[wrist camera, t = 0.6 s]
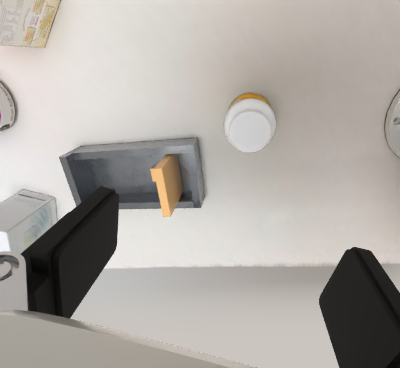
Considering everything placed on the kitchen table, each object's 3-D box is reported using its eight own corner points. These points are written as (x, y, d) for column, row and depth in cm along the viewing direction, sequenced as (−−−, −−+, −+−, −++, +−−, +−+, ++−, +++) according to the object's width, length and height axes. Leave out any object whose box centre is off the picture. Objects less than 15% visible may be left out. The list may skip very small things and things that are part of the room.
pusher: (176, 149, 36) (161, 168, 29) (183, 191, 38) (170, 216, 32) (149, 151, 36) (129, 170, 30) (157, 192, 39) (140, 216, 33)
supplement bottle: (280, 111, 32) (292, 130, 23) (250, 143, 34) (251, 170, 26) (248, 82, 31) (248, 90, 23) (219, 116, 34) (209, 135, 25)
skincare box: (61, 244, 48) (16, 288, 39) (29, 236, 49) (-23, 277, 39) (57, 197, 44) (5, 233, 34) (22, 188, 44) (-39, 222, 35)
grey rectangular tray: (197, 137, 35) (190, 148, 31) (204, 195, 39) (199, 213, 34) (80, 146, 39) (58, 157, 34) (97, 199, 42) (79, 215, 38)
